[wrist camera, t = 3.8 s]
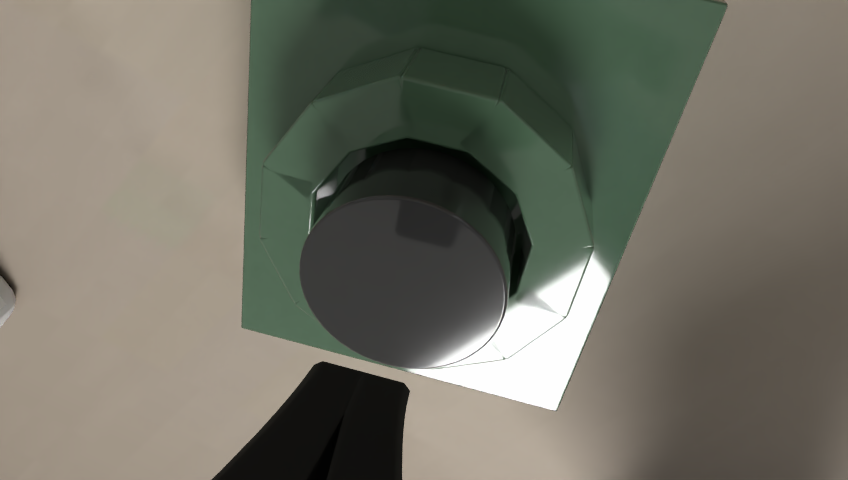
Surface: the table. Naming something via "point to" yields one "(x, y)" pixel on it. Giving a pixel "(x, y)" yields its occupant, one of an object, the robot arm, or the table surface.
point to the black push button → (411, 259)
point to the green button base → (471, 146)
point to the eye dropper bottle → (6, 301)
